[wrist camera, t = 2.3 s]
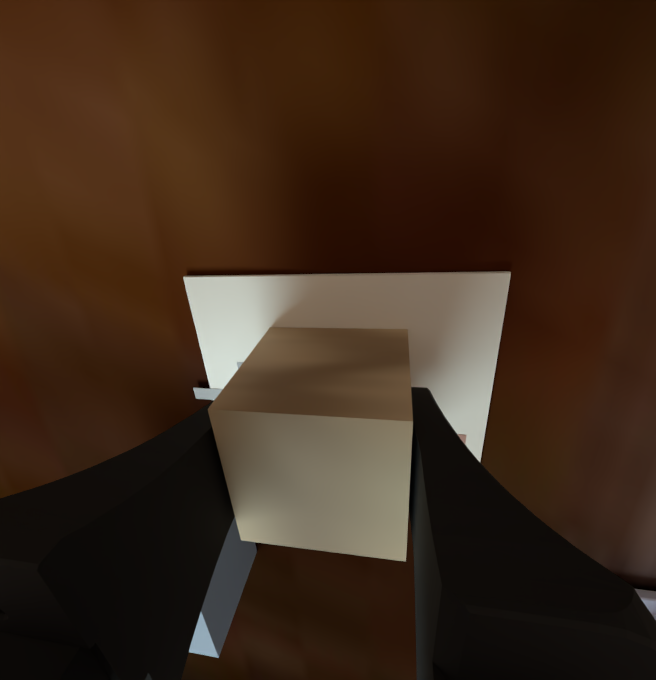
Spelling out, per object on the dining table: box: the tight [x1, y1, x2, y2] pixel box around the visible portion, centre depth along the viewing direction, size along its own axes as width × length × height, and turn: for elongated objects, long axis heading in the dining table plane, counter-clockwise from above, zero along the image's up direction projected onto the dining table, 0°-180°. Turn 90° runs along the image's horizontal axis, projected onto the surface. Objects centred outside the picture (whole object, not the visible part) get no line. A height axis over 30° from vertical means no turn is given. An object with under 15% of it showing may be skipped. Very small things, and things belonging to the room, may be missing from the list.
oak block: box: [208, 327, 413, 561], centre depth 11 cm, size 4×4×4 cm
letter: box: [183, 271, 511, 462], centre depth 13 cm, size 11×8×1 cm
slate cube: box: [189, 517, 257, 658], centre depth 16 cm, size 4×4×4 cm
